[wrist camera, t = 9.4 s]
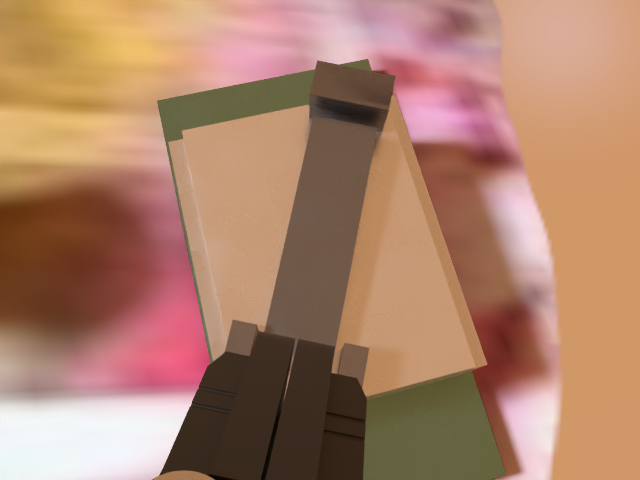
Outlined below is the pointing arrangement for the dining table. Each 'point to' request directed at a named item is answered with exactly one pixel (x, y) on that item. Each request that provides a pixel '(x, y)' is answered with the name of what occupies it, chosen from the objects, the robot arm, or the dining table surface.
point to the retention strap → (322, 232)
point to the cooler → (366, 270)
